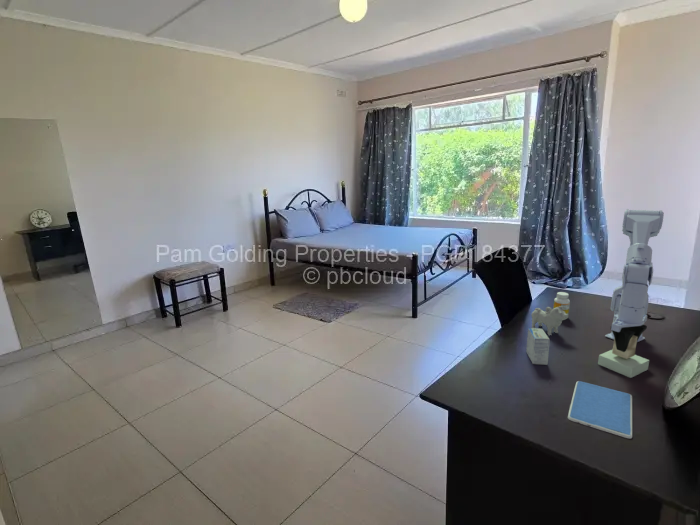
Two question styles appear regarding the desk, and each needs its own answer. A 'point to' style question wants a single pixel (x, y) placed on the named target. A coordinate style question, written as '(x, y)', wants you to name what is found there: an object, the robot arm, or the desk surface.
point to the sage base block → (623, 364)
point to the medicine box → (537, 346)
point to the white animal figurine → (549, 318)
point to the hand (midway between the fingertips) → (625, 348)
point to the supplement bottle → (562, 301)
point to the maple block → (629, 351)
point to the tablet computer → (602, 409)
